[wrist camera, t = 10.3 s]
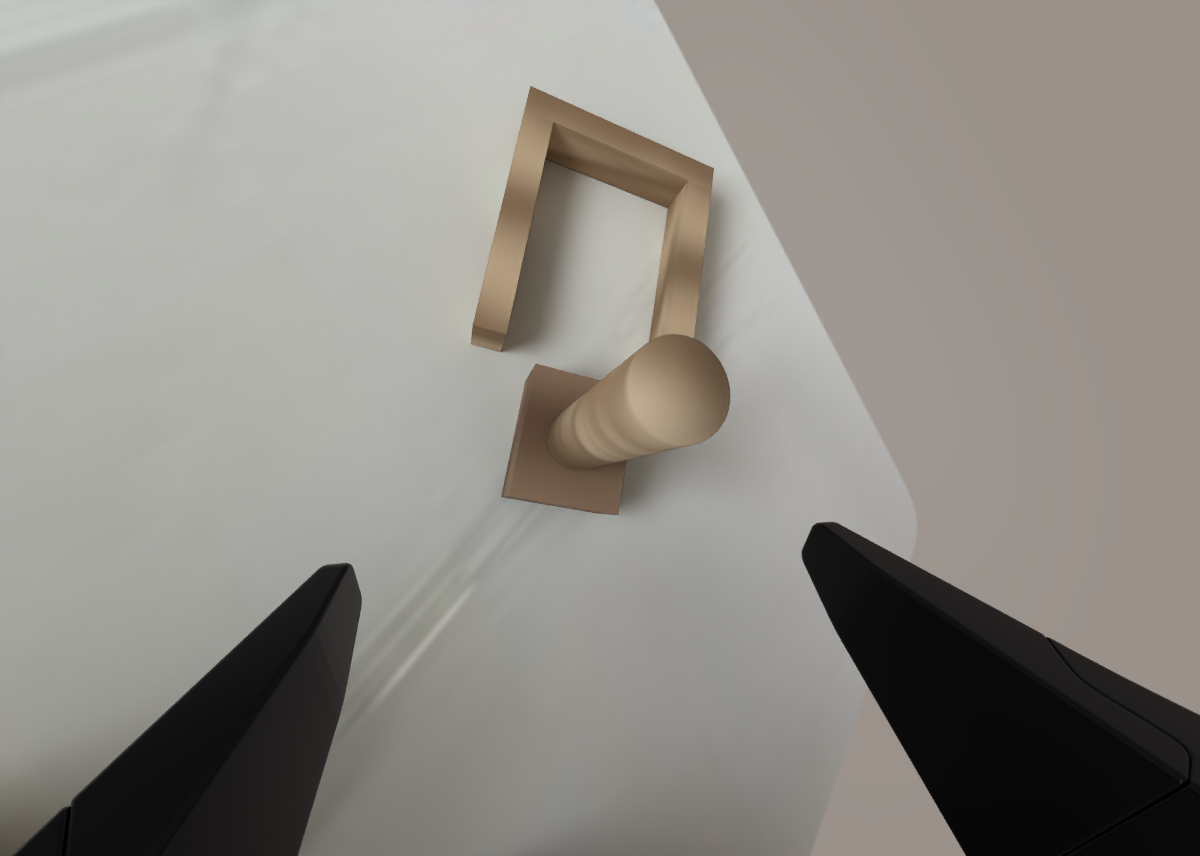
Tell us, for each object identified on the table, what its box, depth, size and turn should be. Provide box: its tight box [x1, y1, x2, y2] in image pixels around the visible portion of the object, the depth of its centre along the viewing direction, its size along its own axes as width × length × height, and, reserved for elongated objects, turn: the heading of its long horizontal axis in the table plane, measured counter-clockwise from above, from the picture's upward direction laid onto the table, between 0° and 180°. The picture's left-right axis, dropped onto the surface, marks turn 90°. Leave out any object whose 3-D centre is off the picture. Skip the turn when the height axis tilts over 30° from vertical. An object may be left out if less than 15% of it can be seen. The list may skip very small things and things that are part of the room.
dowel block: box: [501, 334, 730, 515], centre depth 16 cm, size 6×5×12 cm
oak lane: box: [471, 86, 714, 352], centre depth 23 cm, size 14×11×2 cm
